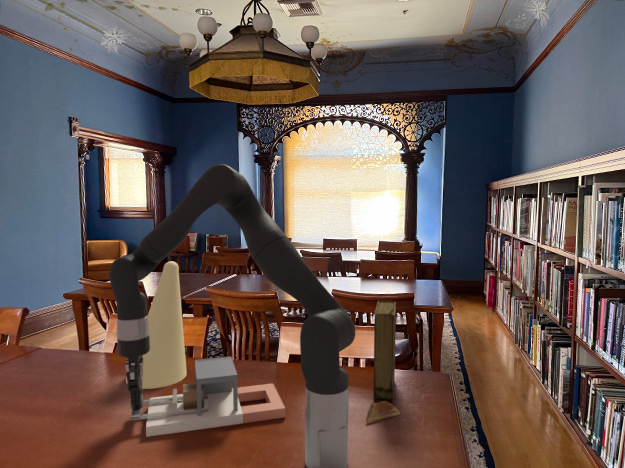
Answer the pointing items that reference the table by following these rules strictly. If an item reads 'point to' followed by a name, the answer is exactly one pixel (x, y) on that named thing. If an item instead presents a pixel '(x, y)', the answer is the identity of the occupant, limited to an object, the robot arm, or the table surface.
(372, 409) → the shard
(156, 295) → the cone light
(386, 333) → the book
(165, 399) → the sled
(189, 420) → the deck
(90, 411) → the table surface
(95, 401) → the table surface
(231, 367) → the tunnel
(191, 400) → the block
